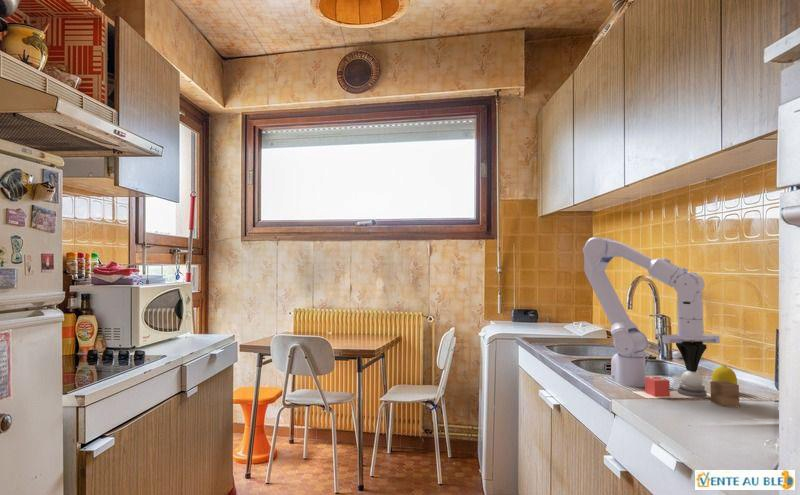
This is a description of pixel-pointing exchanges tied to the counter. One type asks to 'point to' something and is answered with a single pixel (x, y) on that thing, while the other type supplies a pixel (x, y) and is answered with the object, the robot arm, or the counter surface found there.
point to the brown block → (724, 393)
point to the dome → (691, 382)
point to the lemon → (724, 374)
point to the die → (657, 386)
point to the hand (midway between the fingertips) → (691, 370)
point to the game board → (676, 394)
